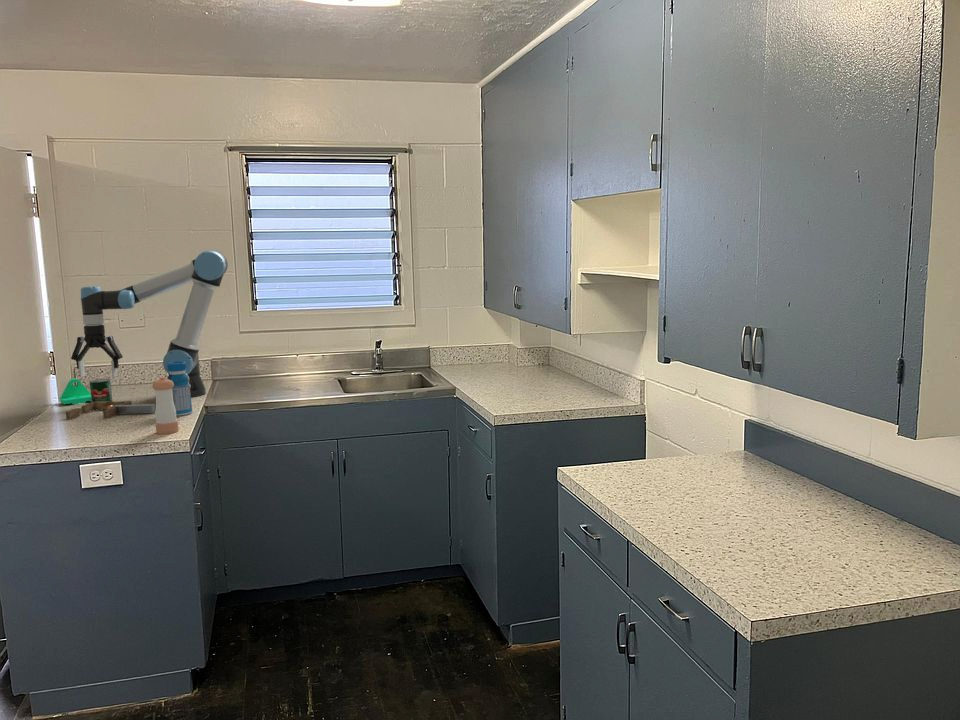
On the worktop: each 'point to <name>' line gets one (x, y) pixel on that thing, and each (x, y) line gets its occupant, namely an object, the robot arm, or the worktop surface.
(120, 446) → the worktop surface
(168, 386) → the pepper shaker
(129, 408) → the bar
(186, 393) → the beverage bottle
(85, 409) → the frame
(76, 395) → the camera mount
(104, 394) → the canned tomato
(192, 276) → the robot arm
